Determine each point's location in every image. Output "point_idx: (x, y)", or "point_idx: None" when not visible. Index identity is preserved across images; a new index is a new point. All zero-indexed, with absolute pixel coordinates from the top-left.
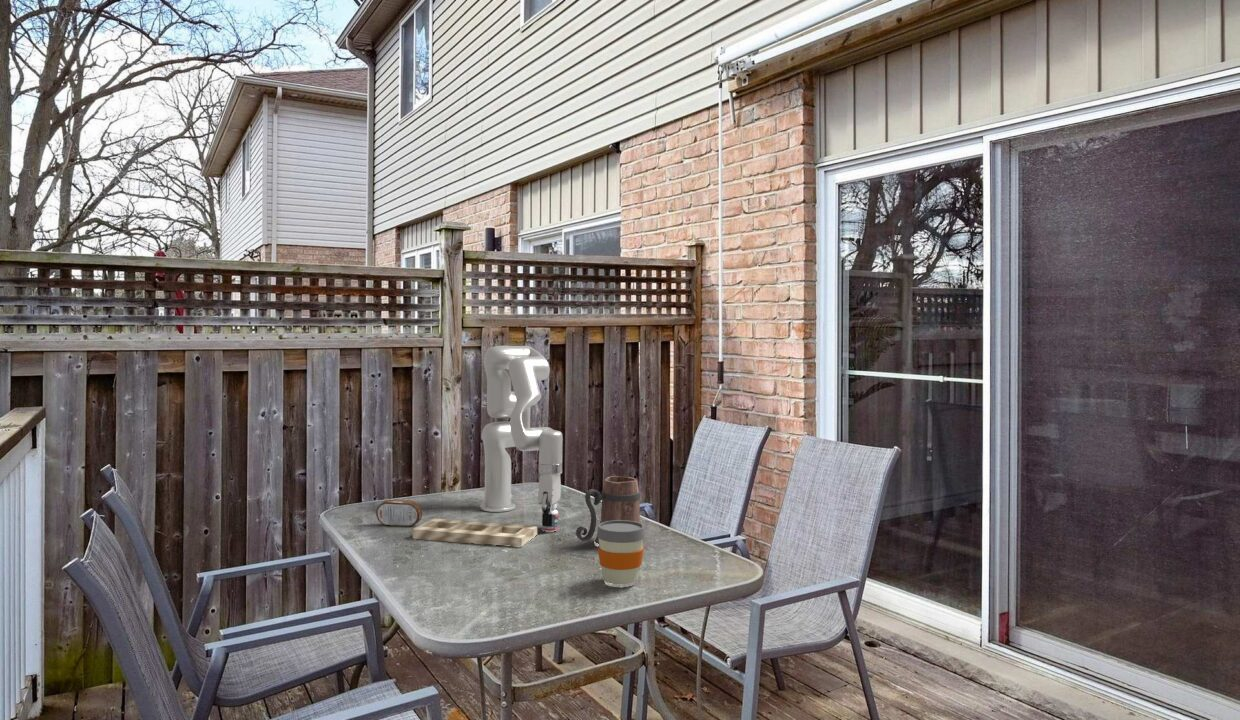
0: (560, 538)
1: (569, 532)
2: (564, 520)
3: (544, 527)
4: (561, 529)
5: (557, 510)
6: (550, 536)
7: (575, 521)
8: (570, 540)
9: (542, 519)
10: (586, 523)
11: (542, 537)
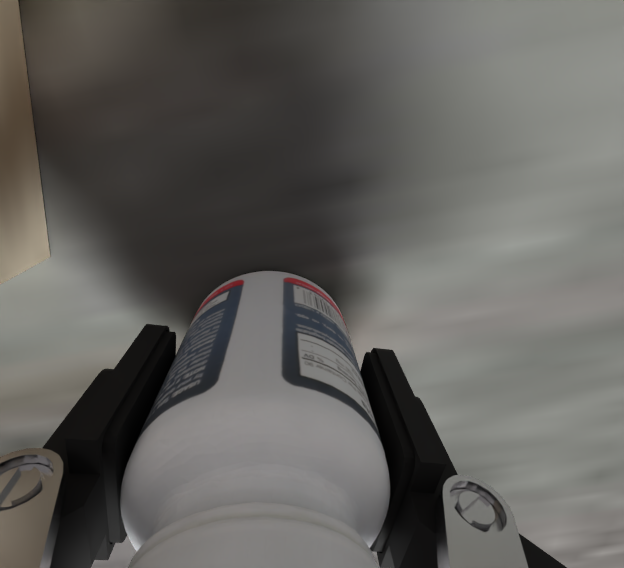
0: None
1: None
2: (619, 383)
3: (192, 323)
4: None
5: (378, 557)
6: (78, 372)
7: (570, 455)
8: None
9: (119, 368)
10: None
11: (13, 316)
